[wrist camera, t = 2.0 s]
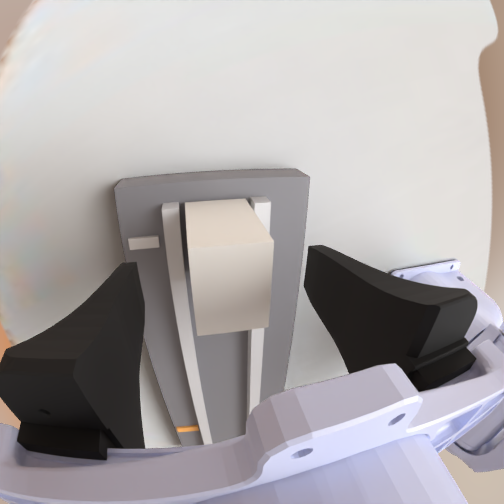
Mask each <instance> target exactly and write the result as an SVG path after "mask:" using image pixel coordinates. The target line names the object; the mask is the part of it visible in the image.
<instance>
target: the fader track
mask: <svg viewBox="0 0 504 504" xmlns="http://www.w3.org/2000/svg"><path fill="white" fill-rule="evenodd" d="M309 184H310V177H309V176H308V175H306V174H304V173H303V172H301V171H299V170H298V169H250V170H224V171H205V172H190V173H177V174H165V175H154V176H144V177H134V178H125V179H121V180H120V181H119V183H118V184H117V185H116V187H115V188H114V193H115V200H116V208H117V214H118V221H119V227H120V233H121V239H122V245H123V250H124V255H125V260H126V263H128V262H137V267H138V272H139V277H140V282H141V287H142V292H143V296H144V301H145V326H144V334H143V335H144V339H145V342H146V346H147V349H148V353H149V356H150V359H151V362H152V366H153V369H154V372H155V375H156V378H157V381H158V384H159V387H160V390H161V393H162V395H163V398H164V401H165V404H166V406H167V409H168V412H169V415H170V417H171V420H172V422H173V425H174V427H175V430H176V432H177V435H178V437H179V440H180V442H181V444H182V447H186V446H197V445H207V444H215V443H219V442H222V441H226V440H229V439H232V438H236V437H239V436H242V435H245V434H246V421H247V419H248V417H249V415H250V413H251V411H252V410H253V408H254V407H255V406H257V405H258V404H260V403H261V402H263V401H264V400H266V399H267V398H269V397H270V396H272V395H275V394H278V393H281V392H284V386H285V380H286V374H287V368H288V361H289V355H290V348H291V342H292V335H293V328H294V321H295V313H296V306H297V298H298V291H299V283H300V274H301V266H302V257H303V248H304V238H305V229H306V218H307V208H308V196H309ZM228 199H246V200H247V202H248V203H249V205H250V206H251V208H252V209H253V211H254V212H255V214H256V215H257V217H258V218H259V220H260V221H261V223H262V224H263V225H264V227H265V228H266V230H267V231H268V233H269V234H270V236H271V237H272V239H273V240H274V252H273V269H272V284H271V299H270V314H269V327H266V328H259V329H252V330H245V331H237V332H229V333H221V334H212V335H203V336H197V329H196V322H195V314H194V305H193V296H192V287H191V278H190V268H189V257H188V245H187V231H186V215H185V202H198V201H212V200H228Z"/></svg>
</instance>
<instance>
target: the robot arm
mask: <svg viewBox="0 0 504 504" xmlns="http://www.w3.org/2000/svg"><path fill="white" fill-rule="evenodd" d="M459 267H460V261H458V260H453V261H448V262H442V263H437V264H431V265H425V266H420V267H414V268H408V269H402V270H396V271H394V272H392V274H388V273H385V272H382V271H380V270H377V269H375V268H372V267H370V266H368V265H365V264H363V263H361V262H359V261H357V260H355V259H353V258H350V257H348V256H346V255H344V254H342V253H340V252H338V251H336V250H333V249H331V248H329V247H326V246H323V245H315V246H309V247H308V256H307V264H306V272H305V280H304V288H305V290H306V293H307V295H308V297H309V300H310V302H311V304H312V306H313V307H314V309H315V311H316V312H317V314H318V316H319V317H320V319H321V320H322V322H323V324H324V325H325V327H326V328H327V330H328V332H329V333H330V335H331V336H332V338H333V340H334V341H335V343H336V345H337V347H338V349H339V351H340V353H341V356H342V358H343V360H344V362H345V365H346V367H347V370H348V372H349V374H348V375H344V376H341V377H337V378H333V379H330V380H326V381H322V382H318V383H314V384H310V385H305V386H301V387H297V388H292V389H289V390H286V391H284V392H281V393H278V394H275V395H272V396H270V397H269V398H267V399H266V400H264V401H263V402H261V403H260V404H258V405H257V406H255V407H254V408H253V410H252V411H251V413H250V415H249V417H248V419H247V421H246V434H245V435H242V436H239V437H236V438H232V439H229V440H226V441H222V442H219V443H215V444H207V445H197V446H186V447H172V448H151V449H145V444H144V437H143V428H142V419H141V406H140V387H139V370H140V359H141V350H142V342H143V334H144V326H145V301H144V296H143V292H142V287H141V282H140V277H139V272H138V267H137V262H128V263H122V264H121V265H120V266H119V267H118V268H117V269H116V270H115V271H114V272H113V273H112V274H111V275H110V277H109V278H108V279H107V280H106V281H105V282H104V283H103V284H102V285H101V286H100V287H99V288H98V289H97V290H96V291H95V292H94V293H93V294H92V295H91V296H90V297H89V298H88V299H87V300H86V301H85V302H84V303H83V304H82V305H80V306H79V307H78V308H77V309H76V310H74V311H73V312H72V313H71V314H69V315H68V316H67V317H65V318H64V319H62V320H61V321H59V322H58V323H56V324H55V325H54V326H52V327H50V328H49V329H47V330H45V331H44V332H42V333H40V334H38V335H36V336H35V337H33V338H31V339H29V340H27V341H24V342H22V343H20V344H17V345H15V346H13V347H10V348H8V349H6V351H5V353H4V355H3V357H2V360H1V362H0V397H1V399H2V400H3V401H4V403H6V405H7V406H8V407H9V409H10V410H11V411H12V412H13V413H14V414H15V416H16V417H17V418H18V419H19V420H20V421H21V424H20V429H19V430H18V429H17V428H15V427H13V426H11V425H7V424H2V423H0V498H1V499H3V500H4V501H6V502H8V503H9V504H468V503H467V501H466V499H465V498H464V496H463V494H462V493H461V491H460V489H459V488H458V486H457V484H456V482H455V481H454V479H453V477H452V476H451V474H450V473H449V471H448V469H447V468H446V466H445V465H444V463H443V461H442V460H441V458H440V457H439V455H438V453H439V452H441V451H442V450H444V449H446V450H447V451H448V452H450V453H451V454H453V455H455V456H457V457H458V458H460V459H461V460H462V461H463V462H464V463H466V464H467V465H468V466H469V468H472V469H473V471H474V472H487V471H493V470H498V469H504V322H503V318H502V314H501V311H500V309H499V307H498V305H497V304H496V302H495V301H494V300H493V299H492V298H491V297H490V296H488V295H487V294H486V293H485V292H484V291H483V290H481V289H480V288H479V287H478V286H477V285H475V284H474V283H473V282H472V281H471V280H469V279H468V278H467V277H466V276H464V275H463V274H462V273H461V272H459V271H458V270H459Z"/></svg>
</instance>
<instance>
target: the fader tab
mask: <svg viewBox="0 0 504 504" xmlns="http://www.w3.org/2000/svg"><path fill="white" fill-rule="evenodd" d="M185 215H186V231H187V245H188V257H189V268H190V278H191V287H192V296H193V305H194V314H195V322H196V329H197V336H203V335H212V334H221V333H229V332H237V331H245V330H252V329H259V328H266V327H269V314H270V299H271V284H272V269H273V252H274V240H273V239H272V237H271V236H270V234H269V233H268V231H267V230H266V228H265V227H264V225H263V224H262V223H261V221H260V220H259V218H258V217H257V215H256V214H255V212H254V211H253V209H252V208H251V206H250V205H249V203H248V202H247V200H246V199H228V200H212V201H198V202H185Z"/></svg>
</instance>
